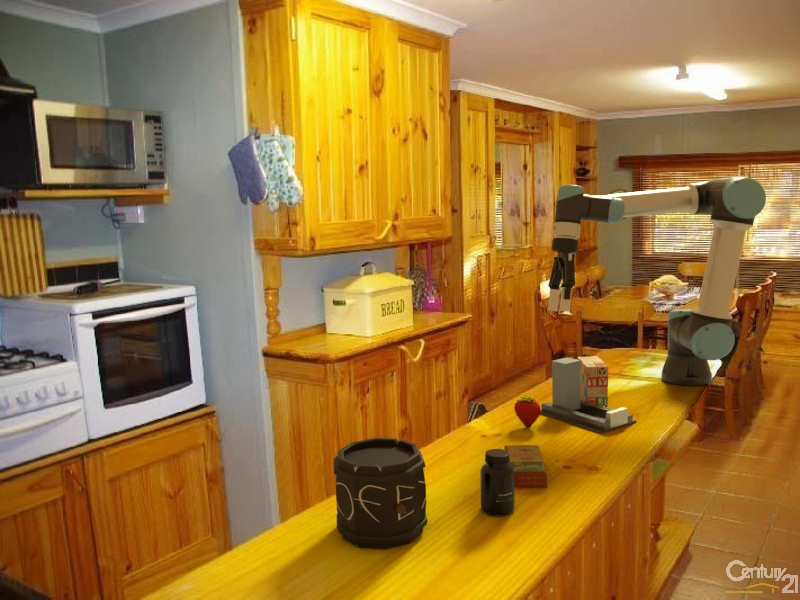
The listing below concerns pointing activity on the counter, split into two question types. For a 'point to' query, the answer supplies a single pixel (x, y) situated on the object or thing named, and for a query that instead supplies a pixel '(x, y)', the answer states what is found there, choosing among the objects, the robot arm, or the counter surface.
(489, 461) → the supplement bottle
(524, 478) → the carton
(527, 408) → the strawberry
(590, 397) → the stack of blocks
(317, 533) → the counter surface
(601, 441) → the counter surface
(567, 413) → the chute
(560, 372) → the grey rectangular block
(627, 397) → the counter surface
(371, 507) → the wooden barrel
